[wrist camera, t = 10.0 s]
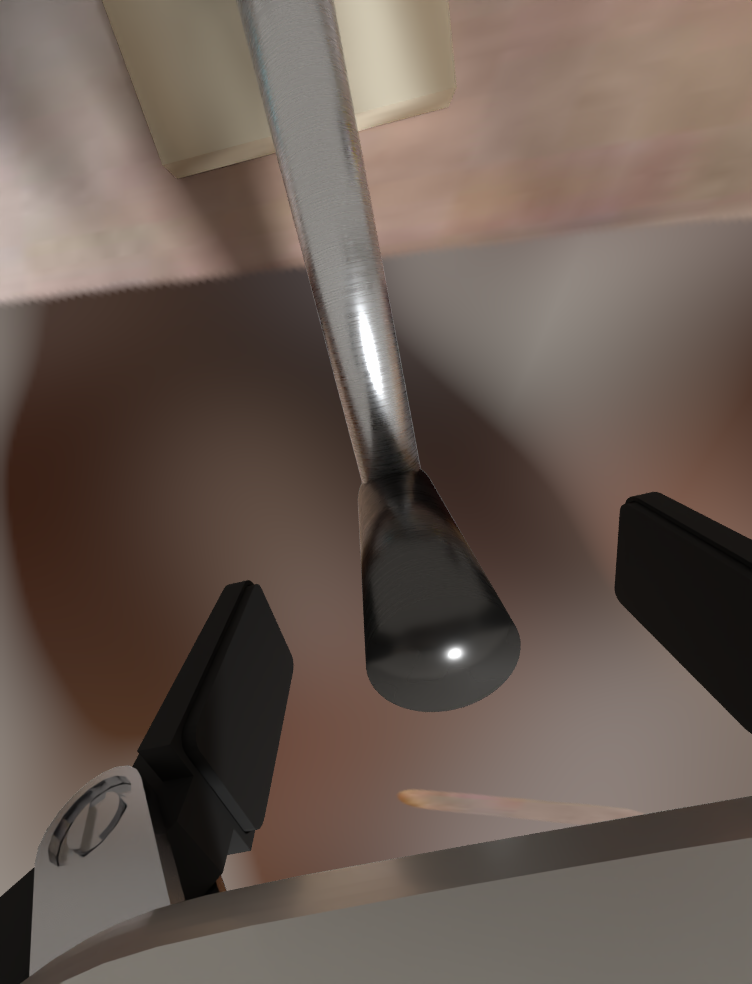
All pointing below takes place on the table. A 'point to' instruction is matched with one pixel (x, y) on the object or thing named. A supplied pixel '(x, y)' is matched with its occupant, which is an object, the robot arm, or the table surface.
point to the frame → (232, 81)
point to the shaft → (373, 381)
